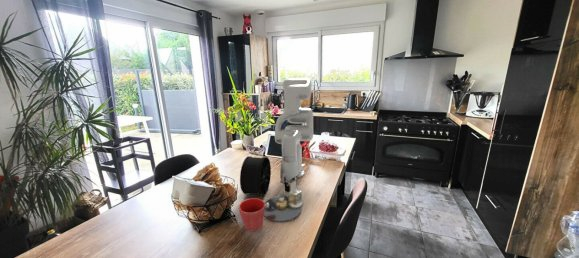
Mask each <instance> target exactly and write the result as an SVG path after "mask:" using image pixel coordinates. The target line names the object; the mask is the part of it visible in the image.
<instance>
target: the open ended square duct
mask: <svg viewBox="0 0 579 258" xmlns="http://www.w3.org/2000/svg"><path fill="white" fill-rule="evenodd" d="M286 182H287V181H286ZM283 185H284V184H283ZM289 185H290V191H291V190H293V189H297V181H295V180H292V179H290V181H289ZM284 187H285V185H284ZM283 194H284V196H285V197H289V192H286V191H285V188H284V189H283Z"/></svg>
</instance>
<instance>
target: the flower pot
mask: <svg viewBox="0 0 579 258" xmlns="http://www.w3.org/2000/svg"><path fill="white" fill-rule="evenodd" d="M264 210H265V201H264V200H263V199H261V198H256V197H253V198H247V199H245V200H243V201H241V202H240V204H239V205H238V211H239V215H240V218H241V220H242V224H243V227H244V228H245V230H247V231H257V230H259V229H261V227H263V224H264V218H265V217H264Z"/></svg>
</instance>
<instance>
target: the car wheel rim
mask: <svg viewBox="0 0 579 258" xmlns="http://www.w3.org/2000/svg"><path fill="white" fill-rule="evenodd" d="M269 158H270V157H267V156H262V157H257V156H255V157H254V156H253V157H252V156H250V155H248V156H246V157H245V158H244V160H243V162H242V164H241V167H240V168H241V169H240V173H239V185H240V190H241V192H242V193H243V194H244V195H248V194H251V195H252V194H254V195H258V196H265V195H267V193H268V191H269V188H270V184H271V175H272V168H271V167H272V165H271V161H270V160H271V159H269Z"/></svg>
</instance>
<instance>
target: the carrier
mask: <svg viewBox="0 0 579 258" xmlns="http://www.w3.org/2000/svg"><path fill="white" fill-rule="evenodd" d="M302 194H303V191H302V190H299V189H297V188H296V189H293V190H291V191H290V192H289V197H288V196H285V195H284V196H281V195H280V196H276V197H272V198H269V199H268V200H266V201H264V203H265V210H264V218H265V219H266V220H267V221H269V222H273V223H287V222H291V221H293V220H296V219H297V218H298V217H299V216H300V215H301V214H302V210H303V209H302V208H303V204H304V203H303V199H302V198H303V195H302Z"/></svg>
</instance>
